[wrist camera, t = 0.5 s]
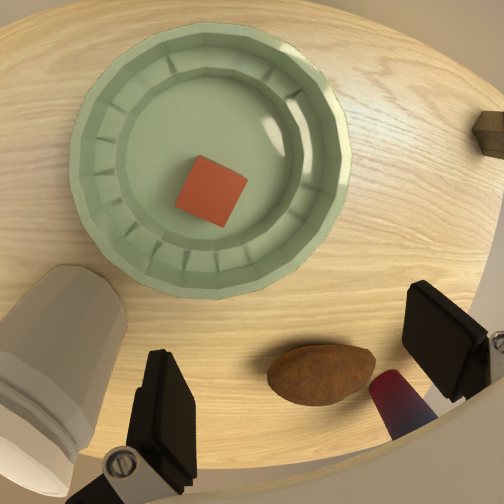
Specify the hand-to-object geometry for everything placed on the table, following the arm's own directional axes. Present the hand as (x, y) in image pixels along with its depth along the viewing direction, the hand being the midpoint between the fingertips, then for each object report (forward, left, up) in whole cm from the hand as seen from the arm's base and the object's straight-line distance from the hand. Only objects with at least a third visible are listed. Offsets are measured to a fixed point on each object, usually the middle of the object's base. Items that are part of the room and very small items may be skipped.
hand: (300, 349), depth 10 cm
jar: (-7, -16, -15) cm, 23 cm away
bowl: (-6, +2, -15) cm, 16 cm away
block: (-5, +1, -14) cm, 15 cm away
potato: (+15, -6, -15) cm, 22 cm away
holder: (+13, +27, -15) cm, 34 cm away
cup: (+29, -4, -15) cm, 33 cm away
